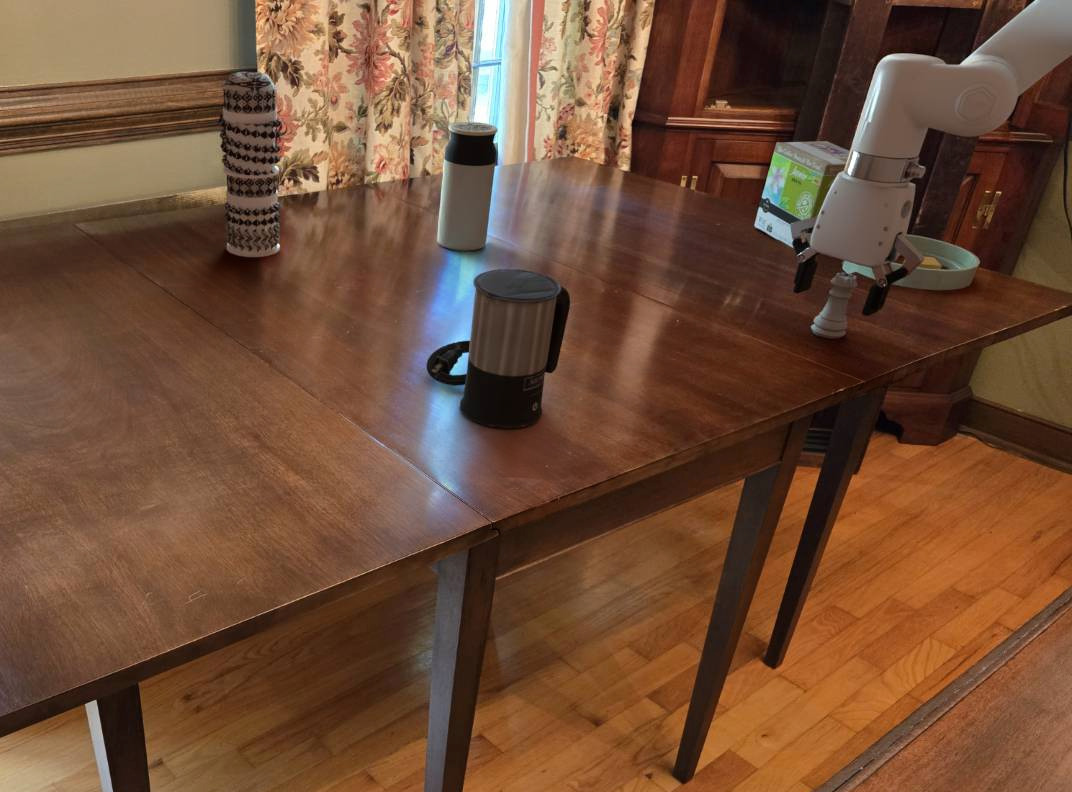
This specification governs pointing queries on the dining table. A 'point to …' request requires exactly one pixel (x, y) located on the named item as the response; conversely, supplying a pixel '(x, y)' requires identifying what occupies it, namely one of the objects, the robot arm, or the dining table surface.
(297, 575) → the dining table surface
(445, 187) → the travel mug
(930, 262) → the decorative block
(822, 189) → the tea box
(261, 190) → the decorative candle
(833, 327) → the rook chess piece
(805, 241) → the robot arm
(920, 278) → the pale green round tray
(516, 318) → the milk frother
